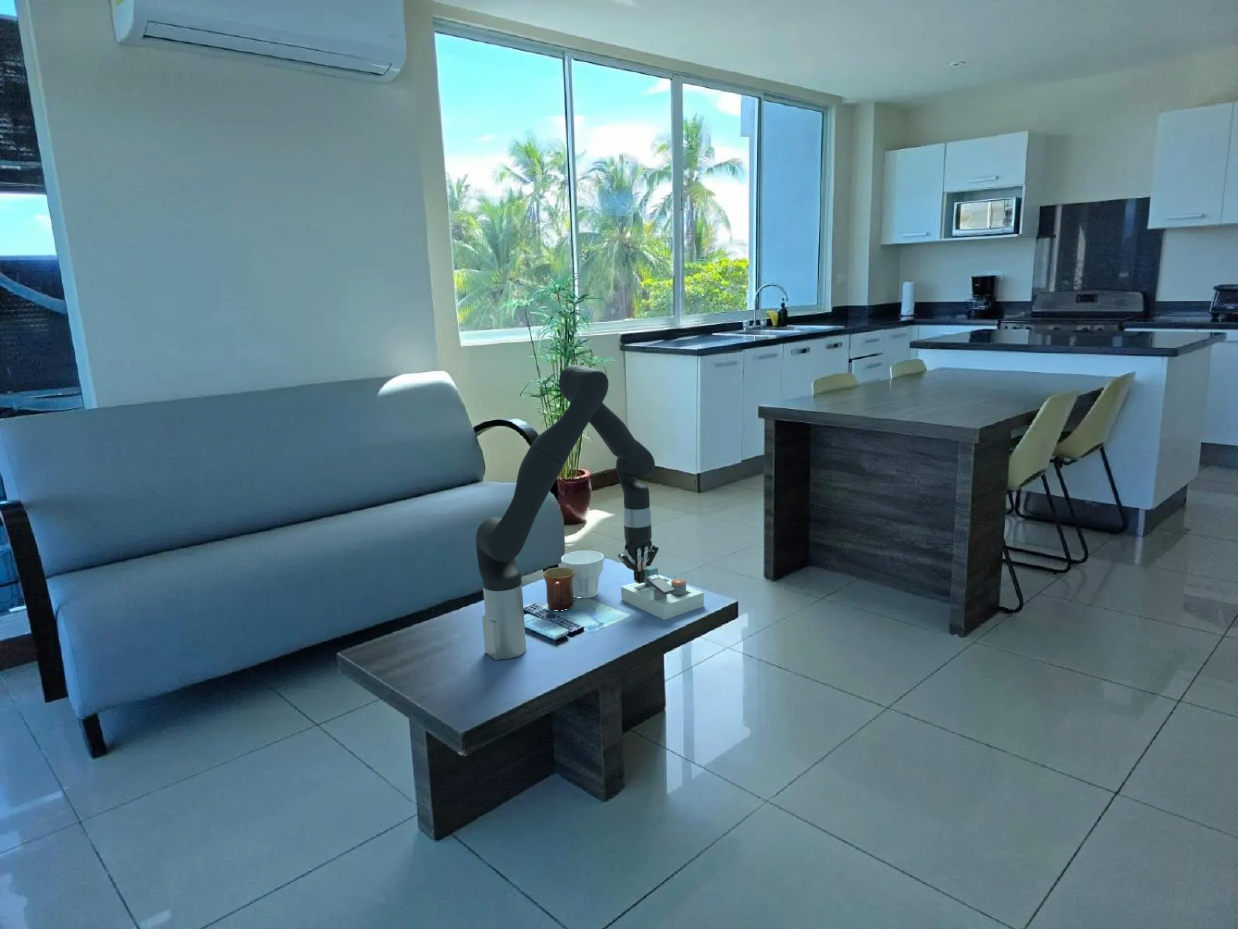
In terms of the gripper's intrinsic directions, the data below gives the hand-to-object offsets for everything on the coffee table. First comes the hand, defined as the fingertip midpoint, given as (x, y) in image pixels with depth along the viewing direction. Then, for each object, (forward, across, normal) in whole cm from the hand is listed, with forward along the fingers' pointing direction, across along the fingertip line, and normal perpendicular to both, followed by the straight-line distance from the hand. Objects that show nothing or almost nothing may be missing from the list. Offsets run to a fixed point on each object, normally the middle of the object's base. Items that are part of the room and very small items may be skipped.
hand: (639, 582), depth 220 cm
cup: (+6, -8, +16) cm, 19 cm away
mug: (+6, -20, +10) cm, 23 cm away
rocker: (-2, -1, -10) cm, 10 cm away
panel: (+6, +4, -5) cm, 8 cm away
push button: (+4, +6, -10) cm, 12 cm away
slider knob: (+1, +4, 0) cm, 4 cm away
